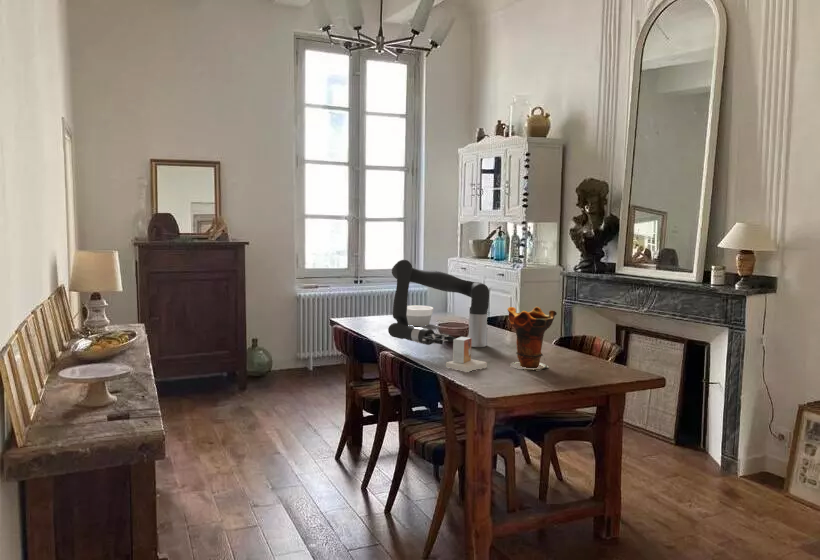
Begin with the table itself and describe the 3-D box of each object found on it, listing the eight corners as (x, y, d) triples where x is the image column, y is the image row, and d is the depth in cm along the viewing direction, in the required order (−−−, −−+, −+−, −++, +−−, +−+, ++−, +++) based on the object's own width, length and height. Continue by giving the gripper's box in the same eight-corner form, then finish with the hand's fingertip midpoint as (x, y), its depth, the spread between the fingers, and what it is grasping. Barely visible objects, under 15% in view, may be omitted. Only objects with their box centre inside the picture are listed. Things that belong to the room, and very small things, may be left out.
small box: (463, 363, 292) (464, 340, 291) (452, 362, 295) (453, 339, 294) (471, 360, 299) (472, 337, 298) (460, 358, 302) (461, 336, 301)
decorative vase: (564, 365, 301) (564, 305, 297) (532, 375, 286) (532, 312, 282) (527, 357, 317) (528, 300, 313) (496, 367, 302) (496, 307, 298)
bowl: (400, 322, 412) (400, 305, 411) (430, 322, 415) (431, 305, 413) (403, 327, 393) (403, 309, 392) (435, 327, 396) (435, 310, 394)
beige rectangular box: (465, 363, 304) (466, 357, 304) (486, 367, 296) (486, 362, 296) (446, 367, 294) (446, 362, 294) (466, 372, 286) (467, 367, 286)
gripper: (412, 329, 308) (438, 334, 296) (432, 326, 318) (458, 331, 307) (412, 345, 308) (438, 351, 297) (432, 341, 319) (458, 346, 307)
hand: (448, 340), depth 302 cm, fingers open, 8 cm apart
